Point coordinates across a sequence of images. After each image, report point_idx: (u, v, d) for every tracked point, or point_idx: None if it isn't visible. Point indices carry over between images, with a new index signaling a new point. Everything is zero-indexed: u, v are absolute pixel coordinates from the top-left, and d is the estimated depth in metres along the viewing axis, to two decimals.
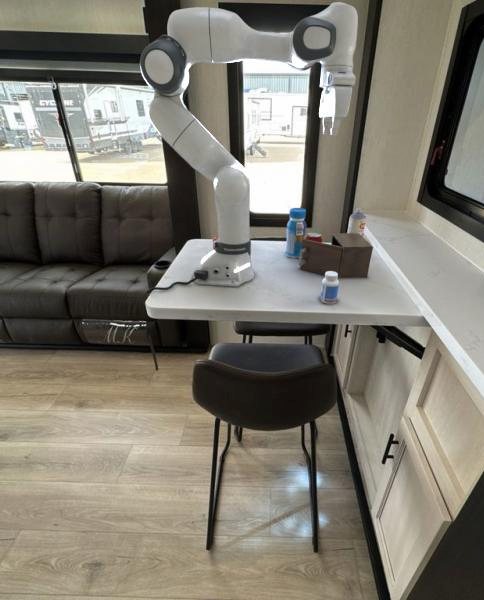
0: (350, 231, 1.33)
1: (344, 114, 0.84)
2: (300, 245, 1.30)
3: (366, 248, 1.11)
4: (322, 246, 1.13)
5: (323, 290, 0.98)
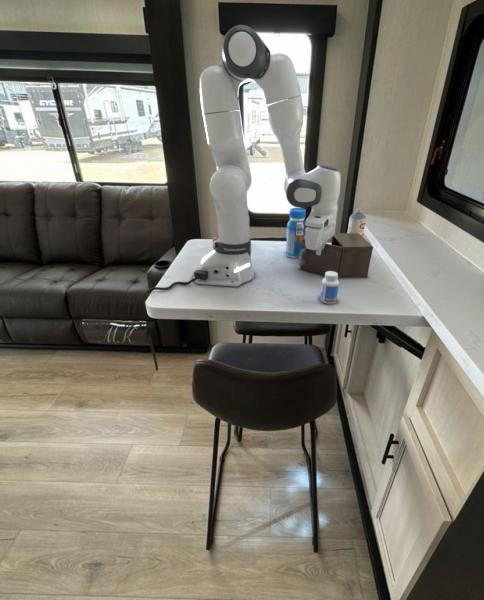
0: (350, 231, 1.33)
1: (312, 249, 1.02)
2: (300, 245, 1.30)
3: (366, 248, 1.11)
4: None
5: (323, 290, 0.98)
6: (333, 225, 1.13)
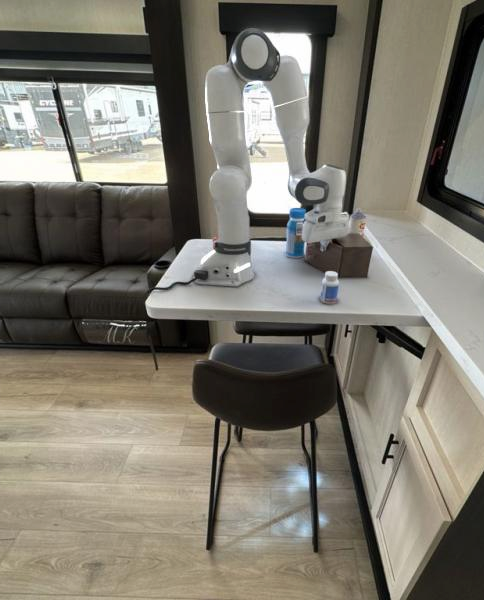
0: (350, 231, 1.33)
1: (306, 241, 1.08)
2: (300, 245, 1.30)
3: (366, 248, 1.11)
4: None
5: (323, 290, 0.98)
6: (344, 225, 1.14)
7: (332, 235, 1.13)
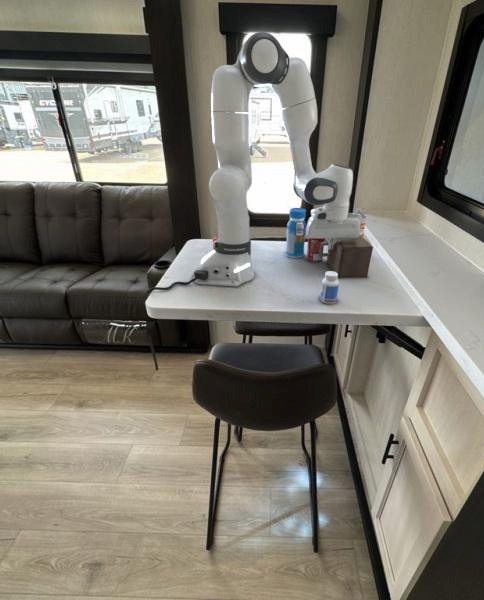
0: None
1: (307, 236, 1.13)
2: (300, 245, 1.30)
3: (366, 248, 1.11)
4: (335, 243, 1.17)
5: (323, 290, 0.98)
6: (353, 226, 1.13)
7: (338, 234, 1.13)
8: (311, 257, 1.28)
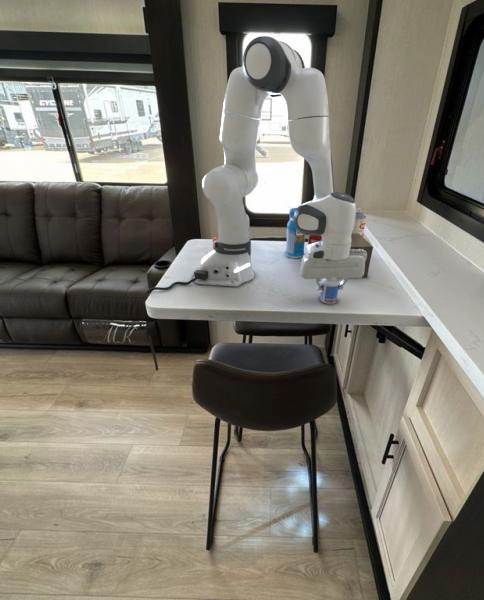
0: None
1: None
2: (300, 245, 1.30)
3: (366, 248, 1.11)
4: None
5: (323, 290, 0.98)
6: (356, 265, 0.94)
7: (338, 274, 0.95)
8: None
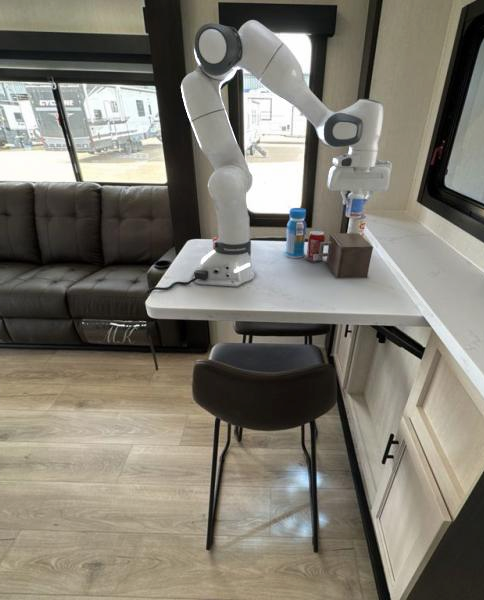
0: (350, 231, 1.33)
1: (329, 188, 1.00)
2: (300, 245, 1.30)
3: (366, 248, 1.11)
4: (335, 243, 1.17)
5: (349, 204, 1.03)
6: (382, 176, 0.99)
7: (364, 186, 1.00)
8: (311, 257, 1.28)
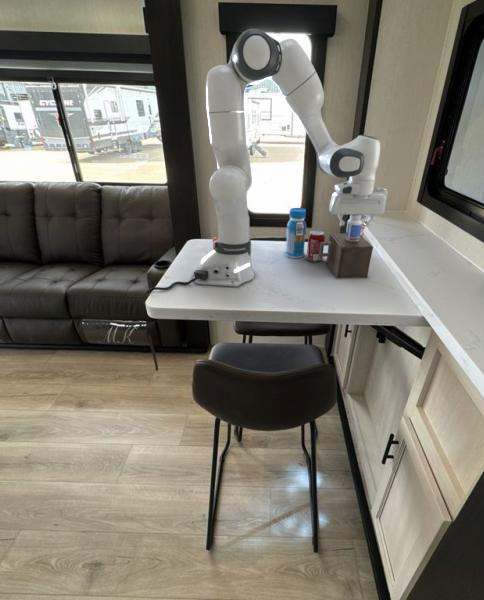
0: None
1: (331, 212, 1.10)
2: (300, 245, 1.30)
3: (366, 248, 1.11)
4: (335, 243, 1.17)
5: (348, 229, 1.14)
6: (378, 202, 1.09)
7: (362, 210, 1.10)
8: (311, 257, 1.28)
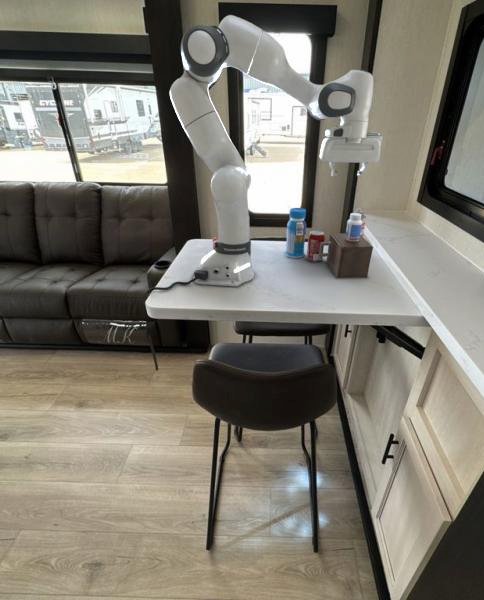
0: None
1: (321, 159, 1.03)
2: (300, 245, 1.30)
3: (366, 248, 1.11)
4: (335, 243, 1.17)
5: (348, 229, 1.14)
6: (373, 148, 1.02)
7: (356, 157, 1.03)
8: (311, 257, 1.28)
